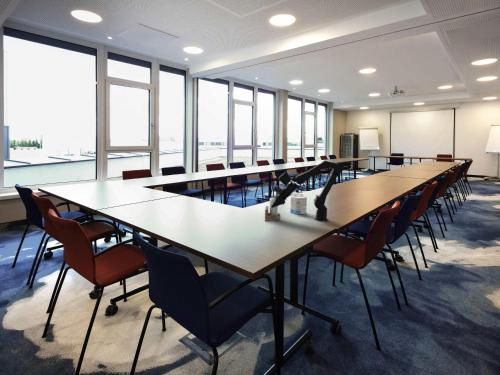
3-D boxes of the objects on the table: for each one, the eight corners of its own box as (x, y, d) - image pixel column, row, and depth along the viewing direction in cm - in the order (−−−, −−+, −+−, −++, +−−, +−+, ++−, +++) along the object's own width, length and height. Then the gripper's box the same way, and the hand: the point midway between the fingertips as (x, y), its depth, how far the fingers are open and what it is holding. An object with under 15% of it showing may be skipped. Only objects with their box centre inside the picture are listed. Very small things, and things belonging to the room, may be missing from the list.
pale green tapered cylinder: (279, 216, 200) (279, 198, 198) (272, 217, 197) (272, 199, 195) (274, 215, 204) (274, 197, 202) (268, 216, 202) (268, 197, 200)
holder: (280, 216, 207) (280, 206, 206) (280, 221, 194) (280, 210, 193) (266, 215, 208) (266, 205, 207) (264, 220, 195) (265, 209, 194)
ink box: (296, 214, 212) (296, 195, 210) (290, 212, 219) (290, 193, 217) (306, 213, 215) (307, 194, 213) (300, 211, 223) (300, 192, 221)
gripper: (280, 179, 206) (263, 195, 209) (280, 183, 188) (261, 200, 190) (291, 191, 206) (275, 206, 209) (292, 195, 188) (274, 213, 191)
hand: (271, 206), depth 200 cm, fingers closed on pale green tapered cylinder, 5 cm apart
